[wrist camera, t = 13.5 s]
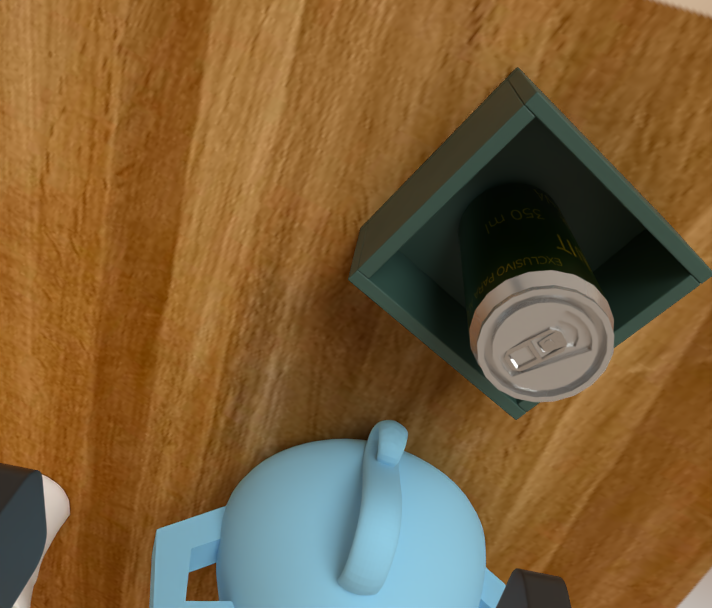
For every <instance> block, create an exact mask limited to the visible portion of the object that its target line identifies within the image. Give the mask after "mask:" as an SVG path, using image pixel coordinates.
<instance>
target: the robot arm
mask: <svg viewBox="0 0 712 608" xmlns="http://www.w3.org/2000/svg"><path fill="white" fill-rule="evenodd" d="M46 538H47V525H46V513H45V501H44V489H43V478H42V474H41V473H40V471H38V470H33V469H28V468H23V467H18V466H13V465H8V464H3V463H0V608H12V607H13V605H14V604H15V602H16V600H17V599H18V597H19V595H20V594H21V592H22V591H23V589H24V587H25V586H26V584H27V582H28V581H29V579H30V578H31V576H32V574H33V573H34V571H35V569H36V567H37V565H38V563H39V561H40V559H41V556H42V554H43V551H44V547H45V543H46ZM496 608H571V604H570V600H569V595H568V591H567V587H566V584H565V582H564V580H563V579H562V578H561V577H558V576H553V575H548V574H543V573H538V572H533V571H528V570H523V569H515V570H514V571H513V572H512V574H511V576H510V578H509V580H508V582H507V585H506V587H505V589H504V591H503V593H502V595H501V598H500V600H499V602H498V604H497V606H496Z"/></svg>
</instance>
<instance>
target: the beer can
mask: <svg viewBox="0 0 712 608" xmlns="http://www.w3.org/2000/svg"><path fill="white" fill-rule="evenodd" d="M458 233H459V247H460V256H461V265H462V275H463V284H464V293H465V302H466V311H467V321H468V330H469V339H470V348H471V350H472V352H473V354H474V357H475V359H476V361H477V363H478V365H479V366H480V367H481V368H482V370H483V373H484V375H485V377H486V378H487V379H488V380H489V381H490V382H491V383H492V384H493V385H494V386H495V387H496V388H497V389H498V390H500V391H502V392H504V393H506V394H508V395H510V396H512V397H514V398H516V399H521V400H526V401H531V402H549V401H557V400H561V399H564V398H567V397H571V396H574V395H576V394H578V393H579V392H581V391H583V390H584V389H586V388H587V387H589V386H591V385H592V384H593V383H594V382H595V381H596V380H597V379H598V378H599V377H600V376H601V375H602V373H603V372H604V371H605V370H606V368H607V366H608V364H609V361H610V359H611V357H612V355H613V350H614V332H613V328H614V318H613V315H612V312H611V310H610V307H609V304H608V301H607V299H606V297H605V295H604V293H603V291H602V289H601V288H600V286H599V284H598V282H597V280H596V278H595V276H594V274H593V272H592V270H591V268H590V266H589V265H588V263H587V261H586V259H585V257H584V255H583V253H582V251H581V249H580V247H579V245H578V243H577V241H576V240H575V238H574V236H573V234H572V232H571V230H570V228H569V226H568V224H567V222H566V220H565V218H564V217H563V215H562V213H561V211H560V209H559V207H558V206H557V204H556V203H555V202H554V201H553V200H552V198H551V197H550V196H549V195H548V194H546V193H545V192H543V191H541V190H539V189H538V188H536V187H534V186H529V185H525V184H520V183H513V184H503V185H499V186H496V187H494V188H491V189H489V190H487V191H484V192H483V193H482V194H481V195H479V196H478V197H477V198H476V199H474V200H473V201H472V202H471V203H470V205H469V206H468V208H467V209H466V211H465V212H464V214H463V215H462V219H461V222H460V226H459V230H458Z"/></svg>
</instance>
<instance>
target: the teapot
mask: <svg viewBox="0 0 712 608" xmlns="http://www.w3.org/2000/svg"><path fill="white" fill-rule="evenodd" d="M407 438H408V432H407V430H406V428H405V427H404V426H402V425H401V424H400V423H398V422H396V421H394V420H383V421H380V422H378V423H377V424H376V425H375V426H374V427H373V429H372V430H371V433H370V435H369V438H368V440H359V439H328V440H321V441H314V442H309V443H305V444H301V445H297V446H294V447H291V448H289V449H286V450H283V451H281V452H278V453H276V454H275V455H273V456H271V457H269V458H267V459H265V460H264V461H263V462H261V463H260V464H259V465H257V466H256V467H254V468H253V469H252V470H251V471H250V472H249V473H248V474H247V475H246V476H245V477H244V478H243V479H242V480H241V481H240V482H239V484H238V485H237V487H236V488H235V489H234V491H233V492H232V494H231V496H230V498H229V500H228V503H227V505H226V506H224V507H221V508H218V509H215V510H212V511H210V512H207V513H204V514H201V515H198V516H195V517H192V518H189V519H186V520H183V521H180V522H177V523H174V524H171V525H168V526H165V527H162V528H160V529H157V530H156V536H155V541H154V546H153V552H152V564H151V585H150V606H149V608H496V606H497V604H498V602H499V600H500V598H501V595H502V593H503V591H504V589H505V587H506V585H505V584H504V583H503V582H502V581H501V580H499V579H498V578H497V577H496V576H495V575H494V574H493V573H492V572H490V571H489V570H488V569H487V568H486V551H485V537H484V532H483V528H482V525H481V522H480V520H479V518H478V515H477V513H476V511H475V510H474V508H473V506H472V505H471V503H470V502H469V500H468V498H467V497H466V495H465V494H464V493H463V492H462V491H461V489H460V488H459V487H458V486H457V485H456V484H455V483H454V482H453V481H452V480H451V479H450V478H449V477H447V476H446V475H445V474H444V473H442V472H441V471H440V470H438V469H437V468H435V467H434V466H432V465H431V464H429V463H428V462H426V461H424V460H422V459H420V458H418V457H417V456H415V455H413V454H410V453H408V452H406V451H404V449H405V446H406V442H407ZM214 563H216V575H217V585H218V594H219V601H185V600H186V591H187V582H188V573H189V572H191V571H194V570H197V569H200V568H203V567H205V566H208V565H211V564H214Z"/></svg>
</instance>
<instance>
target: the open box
mask: <svg viewBox="0 0 712 608" xmlns="http://www.w3.org/2000/svg"><path fill="white" fill-rule="evenodd" d="M513 183H520V184H525V185H529V186H534V187H536V188H538V189H539V190H541V191H543V192H545V193H546V194H548V195H549V196H550V197H551V198H552V200H553V201H554V202H555V203H556V204H557V206H558V207H559V209H560V211H561V213H562V215H563V217H564V218H565V220H566V222H567V224H568V226H569V228H570V230H571V232H572V234H573V236H574V238H575V240H576V241H577V243H578V245H579V247H580V249H581V251H582V253H583V255H584V257H585V259H586V261H587V263H588V265H589V266H590V268H591V270H592V272H593V274H594V276H595V278H596V280H597V282H598V284H599V286H600V288H601V289H602V291H603V293H604V295H605V297H606V299H607V301H608V304H609V307H610V310H611V312H612V315H613V318H614V328H613V332H614V348H615V347H616V346H617V345H619V344H620V343H622V342H623V341H624V340H626V339H627V338H628V337H630V336H631V335H632V334H634V333H635V332H637V331H638V330H639V329H641V328H642V327H643V326H645V325H646V324H647V323H649V322H650V321H651V320H653V319H654V318H656V317H657V316H658V315H660V314H661V313H662V312H664V311H665V310H666V309H668V308H669V307H671V306H672V305H673V304H675V303H676V302H677V301H679V300H680V299H681V298H683V297H684V296H686V295H687V294H688V293H690V292H691V291H692V290H694V289H695V288H696V287H698V286H699V285H700V283H701V284H702V283H703V282H705V281H706V280H707V279H709V278H710V277H712V270H711V269H710V268H709V267H708V266H707V265H706V264H705V262H704V261H703V260H702V259H701V258H700V257H699V256H698V255H697V254H696V253H695V251H694V250H693V249H692V248H691V247H690V246H689V245H688V244H687V243H686V242H685V240H684V239H683V238H682V237H681V236H680V235H679V234H678V233H677V232H676V231H675V229H674V228H673V227H672V226H671V225H670V224H669V223H668V222H667V221H666V220H665V219H664V218H663V217H662V215H661V214H660V213H659V212H658V211H657V210H656V209H655V208H654V207H653V206H652V205H651V204H650V203H649V202H648V201H647V200H646V199H645V198H644V197H643V196H642V195H641V194H640V193H639V192H638V191H637V190H636V189H635V188H634V187H633V186H632V184H631V183H630V182H629V181H628V180H627V179H626V178H625V177H624V176H623V175H622V174H621V173H620V172H619V171H618V170H617V169H616V168H615V167H614V166H613V165H612V164H611V163H610V162H609V161H608V160H607V159H606V158H605V157H604V156H603V155H602V153H601V152H600V151H599V150H598V149H597V148H596V147H595V146H594V145H593V144H592V143H591V142H590V141H589V140H588V139H587V138H586V137H585V136H584V135H583V134H582V133H581V132H580V131H579V130H578V129H577V128H576V127H575V126H574V125H573V123H572V122H571V121H570V120H569V119H568V118H567V117H566V116H565V115H564V114H563V113H562V112H561V111H560V110H559V109H558V108H557V107H556V106H555V105H554V104H553V103H552V102H551V101H550V100H549V99H548V98H547V97H546V96H545V95H544V94H543V92H542V91H541V90H540V89H539V88H538V87H537V86H536V85H535V84H534V83H533V82H532V81H531V80H530V79H529V78H528V77H527V76H526V75H525V74H524V73H523V72H522V71H521V70H520V69H519V68H518V67H517V68H516V69H515V70H514V71H513V72H512V73H511V74H510V75H509V76H508V77H507V78H506V79H505V80H504V81H503V82H502V83H501V84H500V85H499V86H498V87H497V88H496V89H495V90H494V91H493V92H492V93H491V94H490V96H489V97H488V98H487V99H486V100H485V101H484V102H483V103H482V104H481V105H480V106H479V107H478V108H477V109H476V110H475V111H474V112H473V113H472V114H471V115H470V116H469V117H468V118H467V119H466V120H465V121H464V122H463V123H462V124H461V125H460V126H459V127H458V128H457V129H456V130H455V131H454V133H453V134H452V135H451V136H450V137H449V138H448V139H447V140H446V141H445V142H444V143H443V144H442V145H441V146H440V147H439V148H438V149H437V150H436V151H435V152H434V153H433V154H432V155H431V156H430V157H429V158H428V159H427V160H426V161H425V162H424V163H423V164H422V165H421V166H420V167H419V169H418V170H417V171H416V172H415V173H414V174H413V175H412V176H411V177H410V178H409V179H408V180H407V181H406V182H405V183H404V184H403V185H402V186H401V187H400V188H399V189H398V190H397V191H396V192H395V193H394V194H393V195H392V196H391V197H390V198H389V199H388V200H387V201H386V202H385V203H384V204H383V206H382V207H381V208H380V209H379V210H378V211H377V212H376V213H375V214H374V215H373V216H372V217H371V218H370V219H369V220H368V221H367V222H366V223H365V224H364V225H363V226H362V227H361V228H360V233H359V237H358V241H357V245H356V249H355V253H354V257H353V261H352V265H351V269H350V273H349V277H348V280H349V281H350V282H351V283H353V284H354V285H355V286H356V287H357V288H359V289H360V290H361V291H362V292H363V293H365V294H366V295H367V296H368V297H369V298H370V299H372V300H373V301H374V302H375V303H376V304H378V305H379V306H380V307H381V308H382V309H384V310H385V311H386V312H387V313H388V314H390V315H391V316H392V317H393V318H394V319H396V320H397V321H398V322H399V323H400V324H402V325H403V326H404V327H405V328H406V329H408V330H409V331H410V332H411V333H412V334H414V335H415V336H416V337H417V338H418V339H420V340H421V341H422V342H423V343H424V344H426V345H427V346H428V347H429V348H430V349H432V350H433V351H434V352H435V353H436V354H438V355H439V356H440V357H441V358H442V359H444V360H445V361H446V362H447V363H448V364H450V365H451V366H452V367H453V368H454V369H455V370H457V371H458V372H459V373H460V374H461V375H463V376H464V377H465V378H466V379H467V380H469V381H470V382H471V383H472V384H473V385H475V386H476V387H477V388H478V389H479V390H481V391H482V392H483V393H484V394H485V395H487V396H488V397H489V398H490V399H491V400H493V401H494V402H495V403H496V404H497V405H499V406H500V407H501V408H502V409H503V410H505V411H506V412H507V413H508V414H509V415H511V416H512V417H513V418H514V419H515V420H517V419H518V418H520V417H521V416H522V415H524V414H525V413H526V412H528V411H529V410H530V409H532V408H533V407H534V406H536V405H537V404H539V403H540V402H531V401H526V400H521V399H516V398H514V397H512V396H510V395H508V394H506V393H504V392H502V391H500V390H498V389H497V388H496V387H495V386H494V385H493V384H492V383H491V382H490V381H489V380H488V379H487V378H486V377H485V375H484V373H483V370H482V368H481V367H480V366H479V365H478V363H477V361H476V359H475V357H474V354H473V352H472V350H471V348H470V339H469V330H468V321H467V311H466V302H465V293H464V284H463V275H462V265H461V256H460V247H459V233H458V230H459V226H460V222H461V219H462V215H463V214H464V212H465V211H466V209H467V208H468V206H469V205H470V203H471V202H472V201H473V200H474V199H476V198H477V197H478V196H479V195H481V194H482V193H483V192H484V191H487V190H489V189H491V188H494V187H496V186H499V185H503V184H513Z"/></svg>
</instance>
